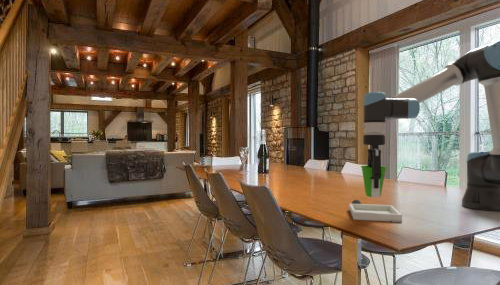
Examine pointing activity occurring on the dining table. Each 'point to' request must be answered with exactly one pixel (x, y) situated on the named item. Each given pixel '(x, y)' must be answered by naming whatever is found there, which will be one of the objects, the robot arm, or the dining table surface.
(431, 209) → the dining table surface
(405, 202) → the dining table surface
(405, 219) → the dining table surface
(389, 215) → the tray
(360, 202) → the ball
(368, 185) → the cup
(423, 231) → the dining table surface
